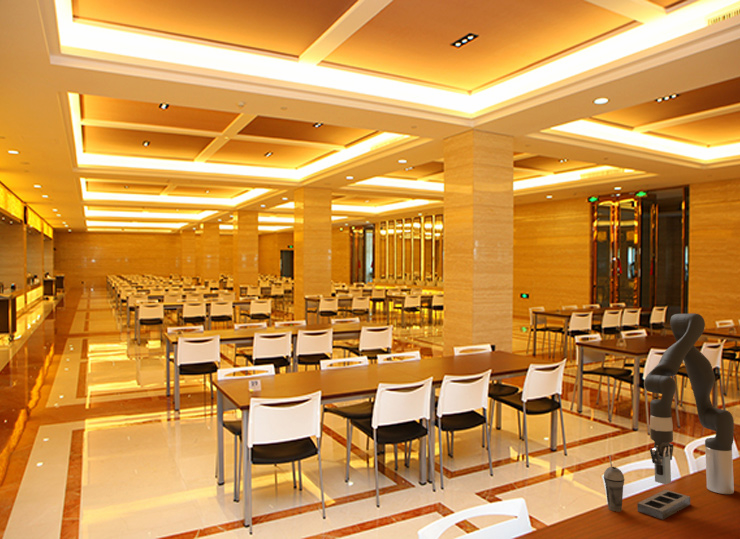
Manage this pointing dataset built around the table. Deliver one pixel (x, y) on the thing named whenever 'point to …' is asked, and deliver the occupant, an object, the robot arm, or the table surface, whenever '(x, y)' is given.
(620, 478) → the beverage cup
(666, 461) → the peg
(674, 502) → the grey slotted block
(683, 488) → the table surface
